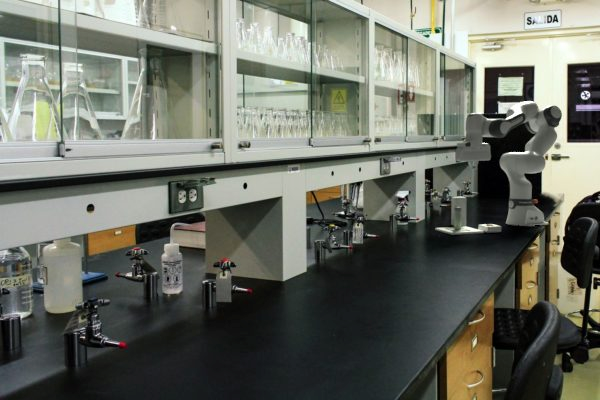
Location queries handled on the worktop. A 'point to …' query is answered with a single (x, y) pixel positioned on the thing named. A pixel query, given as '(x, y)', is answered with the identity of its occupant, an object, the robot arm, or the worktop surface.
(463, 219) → the skincare box
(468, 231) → the board
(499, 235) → the worktop surface
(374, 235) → the worktop surface
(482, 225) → the button housing
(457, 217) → the sage marker
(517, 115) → the robot arm
